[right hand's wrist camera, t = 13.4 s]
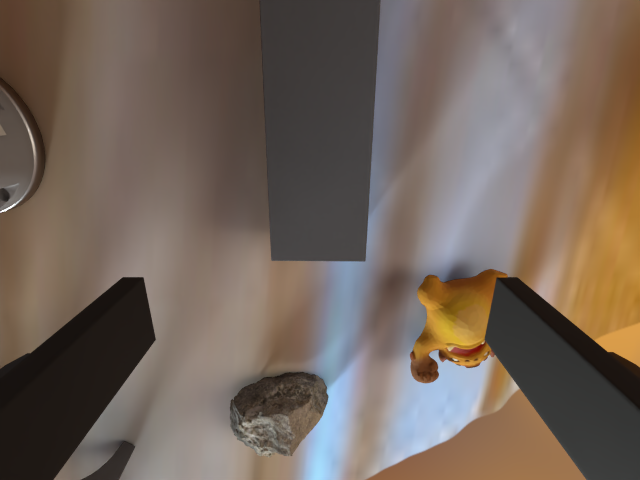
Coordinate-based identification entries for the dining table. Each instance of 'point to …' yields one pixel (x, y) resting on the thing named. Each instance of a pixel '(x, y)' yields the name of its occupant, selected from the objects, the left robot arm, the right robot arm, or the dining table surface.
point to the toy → (454, 323)
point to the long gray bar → (319, 125)
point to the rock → (278, 412)
